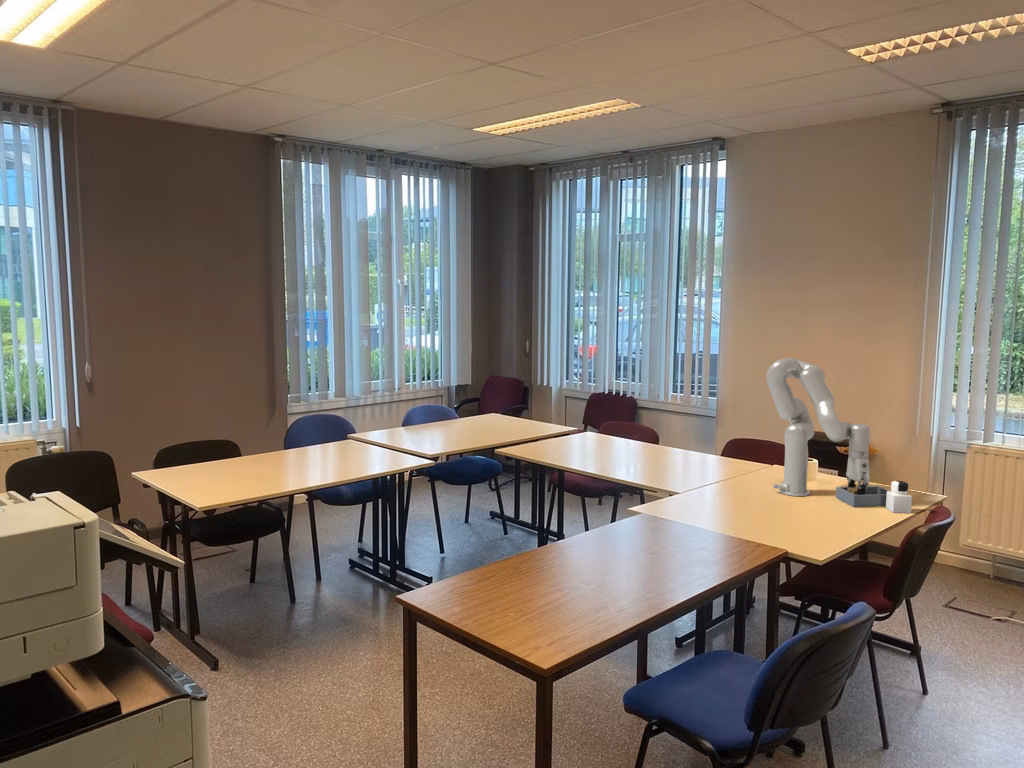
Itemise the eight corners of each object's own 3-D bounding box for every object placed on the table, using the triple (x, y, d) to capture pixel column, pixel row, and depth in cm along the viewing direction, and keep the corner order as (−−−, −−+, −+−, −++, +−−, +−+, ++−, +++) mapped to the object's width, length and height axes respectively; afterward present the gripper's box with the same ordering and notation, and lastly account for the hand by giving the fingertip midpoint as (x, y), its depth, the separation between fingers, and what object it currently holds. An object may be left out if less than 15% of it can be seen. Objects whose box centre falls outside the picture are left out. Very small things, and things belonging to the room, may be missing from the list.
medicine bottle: (903, 508, 300) (905, 479, 299) (911, 513, 293) (913, 484, 292) (885, 508, 301) (887, 479, 299) (892, 512, 294) (894, 483, 292)
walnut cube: (864, 502, 306) (865, 490, 306) (853, 502, 306) (854, 490, 306) (858, 498, 311) (858, 487, 311) (847, 499, 311) (847, 487, 310)
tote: (853, 507, 301) (854, 495, 301) (835, 498, 315) (836, 487, 315) (897, 506, 303) (898, 494, 302) (877, 497, 317) (878, 486, 316)
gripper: (879, 458, 298) (876, 500, 300) (855, 449, 315) (853, 490, 317) (861, 458, 298) (859, 501, 300) (838, 449, 315) (836, 490, 317)
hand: (856, 495), depth 308 cm, fingers open, 6 cm apart
